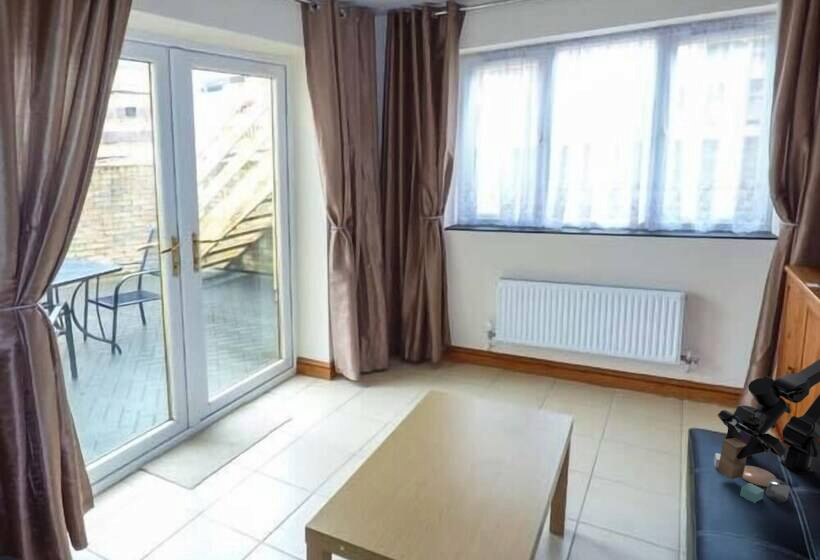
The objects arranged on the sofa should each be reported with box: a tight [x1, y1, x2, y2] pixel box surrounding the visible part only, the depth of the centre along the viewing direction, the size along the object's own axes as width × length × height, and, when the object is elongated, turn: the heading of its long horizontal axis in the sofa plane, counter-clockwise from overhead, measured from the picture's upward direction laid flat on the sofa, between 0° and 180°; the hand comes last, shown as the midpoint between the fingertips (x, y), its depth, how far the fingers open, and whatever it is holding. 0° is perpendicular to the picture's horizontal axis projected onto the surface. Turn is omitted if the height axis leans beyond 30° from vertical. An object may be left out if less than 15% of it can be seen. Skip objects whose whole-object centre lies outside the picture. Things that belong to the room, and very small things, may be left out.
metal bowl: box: [765, 478, 791, 503], centre depth 155 cm, size 5×5×4 cm
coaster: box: [741, 465, 778, 488], centre depth 165 cm, size 10×10×1 cm
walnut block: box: [717, 438, 747, 480], centre depth 161 cm, size 4×4×10 cm
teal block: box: [739, 482, 765, 504], centre depth 155 cm, size 4×4×3 cm
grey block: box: [713, 452, 721, 469], centre depth 170 cm, size 4×4×3 cm
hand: (730, 453), depth 160 cm, fingers closed on walnut block, 4 cm apart
